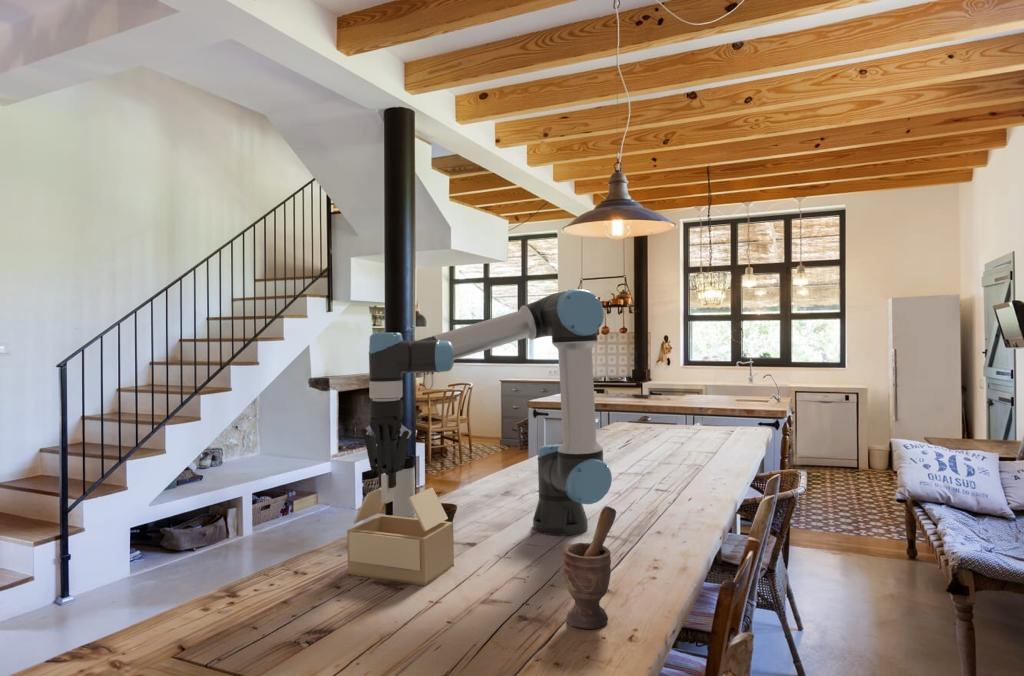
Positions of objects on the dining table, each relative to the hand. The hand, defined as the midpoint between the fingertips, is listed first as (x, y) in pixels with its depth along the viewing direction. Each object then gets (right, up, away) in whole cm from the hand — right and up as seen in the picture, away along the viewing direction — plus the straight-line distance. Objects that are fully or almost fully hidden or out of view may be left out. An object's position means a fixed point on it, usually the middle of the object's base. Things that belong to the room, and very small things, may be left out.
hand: (387, 501), depth 144 cm
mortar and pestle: (+44, -15, -28) cm, 54 cm away
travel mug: (-2, -16, +33) cm, 37 cm away
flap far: (-5, -5, +2) cm, 8 cm away
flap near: (+12, -4, -5) cm, 14 cm away
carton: (+4, -15, -1) cm, 16 cm away
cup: (+10, -16, +17) cm, 26 cm away
